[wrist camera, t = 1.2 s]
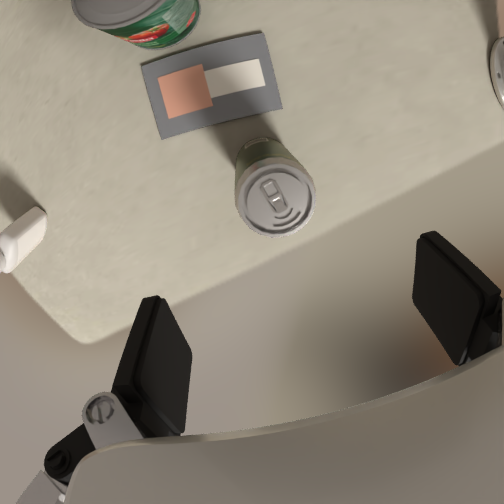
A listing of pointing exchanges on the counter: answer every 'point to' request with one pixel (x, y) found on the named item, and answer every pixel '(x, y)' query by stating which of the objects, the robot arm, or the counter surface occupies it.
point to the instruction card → (212, 85)
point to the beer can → (272, 189)
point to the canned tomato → (141, 20)
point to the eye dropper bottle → (21, 238)
